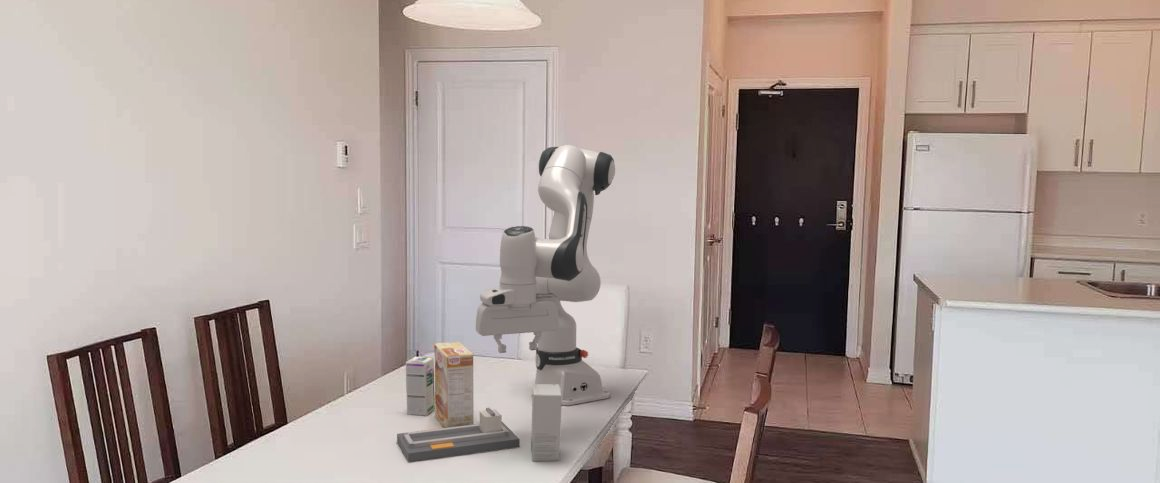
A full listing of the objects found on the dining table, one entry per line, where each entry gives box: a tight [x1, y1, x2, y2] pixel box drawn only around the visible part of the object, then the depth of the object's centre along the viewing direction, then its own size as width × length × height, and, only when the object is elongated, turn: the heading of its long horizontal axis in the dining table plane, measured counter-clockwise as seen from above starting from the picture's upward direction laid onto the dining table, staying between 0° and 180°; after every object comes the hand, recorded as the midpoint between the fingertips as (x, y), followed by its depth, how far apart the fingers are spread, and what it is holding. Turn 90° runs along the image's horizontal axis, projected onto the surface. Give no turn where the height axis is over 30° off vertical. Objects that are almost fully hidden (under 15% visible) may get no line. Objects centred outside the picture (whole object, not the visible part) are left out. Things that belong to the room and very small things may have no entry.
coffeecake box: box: [433, 341, 475, 428], centre depth 202 cm, size 15×7×20 cm, turn 22°
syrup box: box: [405, 356, 435, 417], centre depth 211 cm, size 6×6×14 cm
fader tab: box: [479, 407, 503, 433], centre depth 190 cm, size 4×5×5 cm
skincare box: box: [530, 383, 562, 462], centre depth 181 cm, size 8×7×16 cm
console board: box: [396, 421, 521, 463], centre depth 187 cm, size 26×14×3 cm, turn 113°
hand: (517, 351), depth 191 cm, fingers open, 6 cm apart
